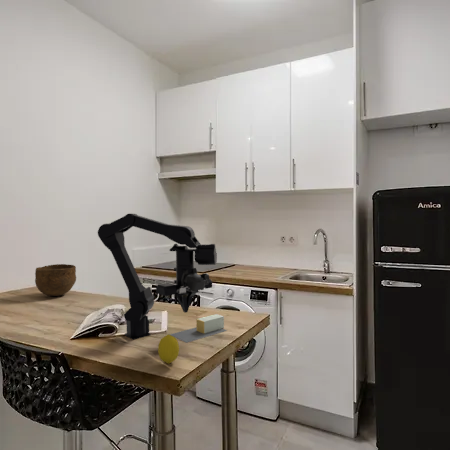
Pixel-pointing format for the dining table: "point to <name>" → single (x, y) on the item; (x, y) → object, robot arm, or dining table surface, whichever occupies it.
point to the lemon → (168, 349)
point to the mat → (194, 334)
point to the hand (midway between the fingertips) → (185, 312)
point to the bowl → (55, 279)
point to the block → (210, 323)
